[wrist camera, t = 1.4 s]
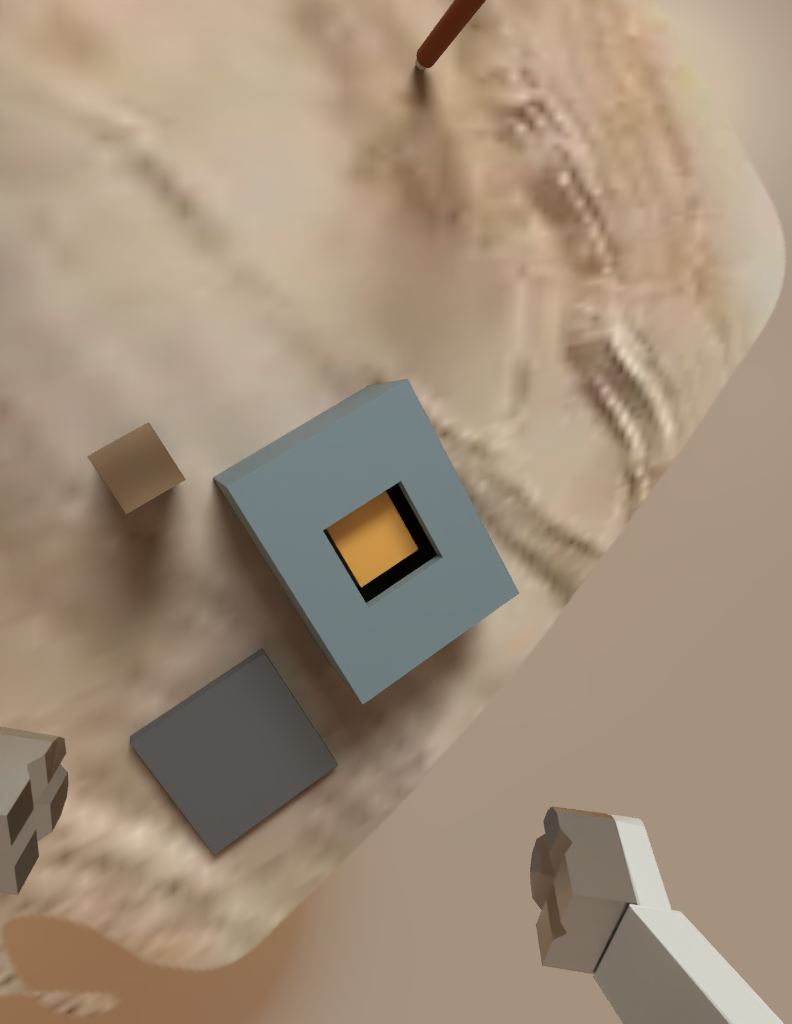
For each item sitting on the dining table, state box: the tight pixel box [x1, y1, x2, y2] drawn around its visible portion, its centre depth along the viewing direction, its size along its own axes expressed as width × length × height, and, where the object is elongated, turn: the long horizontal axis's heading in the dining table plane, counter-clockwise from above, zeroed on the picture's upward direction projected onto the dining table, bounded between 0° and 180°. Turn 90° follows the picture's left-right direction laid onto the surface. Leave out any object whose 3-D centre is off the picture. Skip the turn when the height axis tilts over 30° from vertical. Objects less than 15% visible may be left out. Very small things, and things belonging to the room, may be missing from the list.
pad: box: [130, 649, 338, 855], centre depth 44 cm, size 9×9×1 cm
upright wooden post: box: [88, 423, 186, 514], centre depth 36 cm, size 3×3×9 cm
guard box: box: [213, 379, 519, 704], centre depth 42 cm, size 14×11×7 cm
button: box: [323, 491, 418, 587], centre depth 42 cm, size 4×4×3 cm
